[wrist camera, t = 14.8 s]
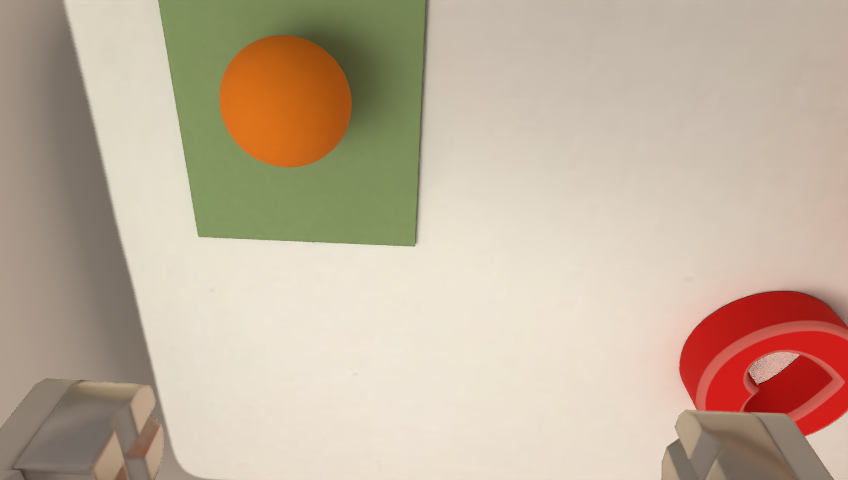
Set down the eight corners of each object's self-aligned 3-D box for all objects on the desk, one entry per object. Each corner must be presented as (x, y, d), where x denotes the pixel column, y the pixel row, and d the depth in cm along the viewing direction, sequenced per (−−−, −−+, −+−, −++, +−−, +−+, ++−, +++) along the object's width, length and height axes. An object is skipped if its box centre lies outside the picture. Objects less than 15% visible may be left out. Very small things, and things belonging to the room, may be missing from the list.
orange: (216, 72, 29) (171, 112, 24) (302, -5, 27) (272, 21, 22) (298, 159, 31) (272, 212, 26) (382, 94, 29) (372, 137, 24)
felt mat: (135, -151, 24) (132, -151, 24) (431, -135, 24) (431, -135, 24) (200, 234, 33) (198, 237, 33) (415, 243, 34) (414, 246, 33)
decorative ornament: (858, 370, 38) (891, 408, 35) (710, 428, 41) (730, 467, 38) (815, 264, 34) (849, 297, 31) (655, 336, 37) (673, 373, 34)
